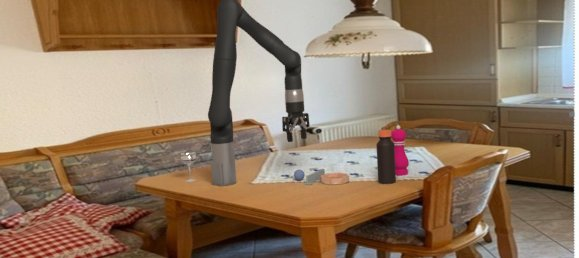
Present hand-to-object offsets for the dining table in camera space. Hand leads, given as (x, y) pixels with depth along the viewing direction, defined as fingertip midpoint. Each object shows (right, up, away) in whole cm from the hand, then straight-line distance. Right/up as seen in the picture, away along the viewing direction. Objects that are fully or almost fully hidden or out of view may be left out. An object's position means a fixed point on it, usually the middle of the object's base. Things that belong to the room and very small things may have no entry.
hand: (297, 140), depth 232 cm
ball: (+1, -16, +1) cm, 16 cm away
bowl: (+15, -16, -6) cm, 23 cm away
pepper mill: (+42, -14, +1) cm, 44 cm away
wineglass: (-46, -18, +15) cm, 51 cm away
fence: (+8, -16, -2) cm, 18 cm away
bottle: (+34, -16, -12) cm, 40 cm away
